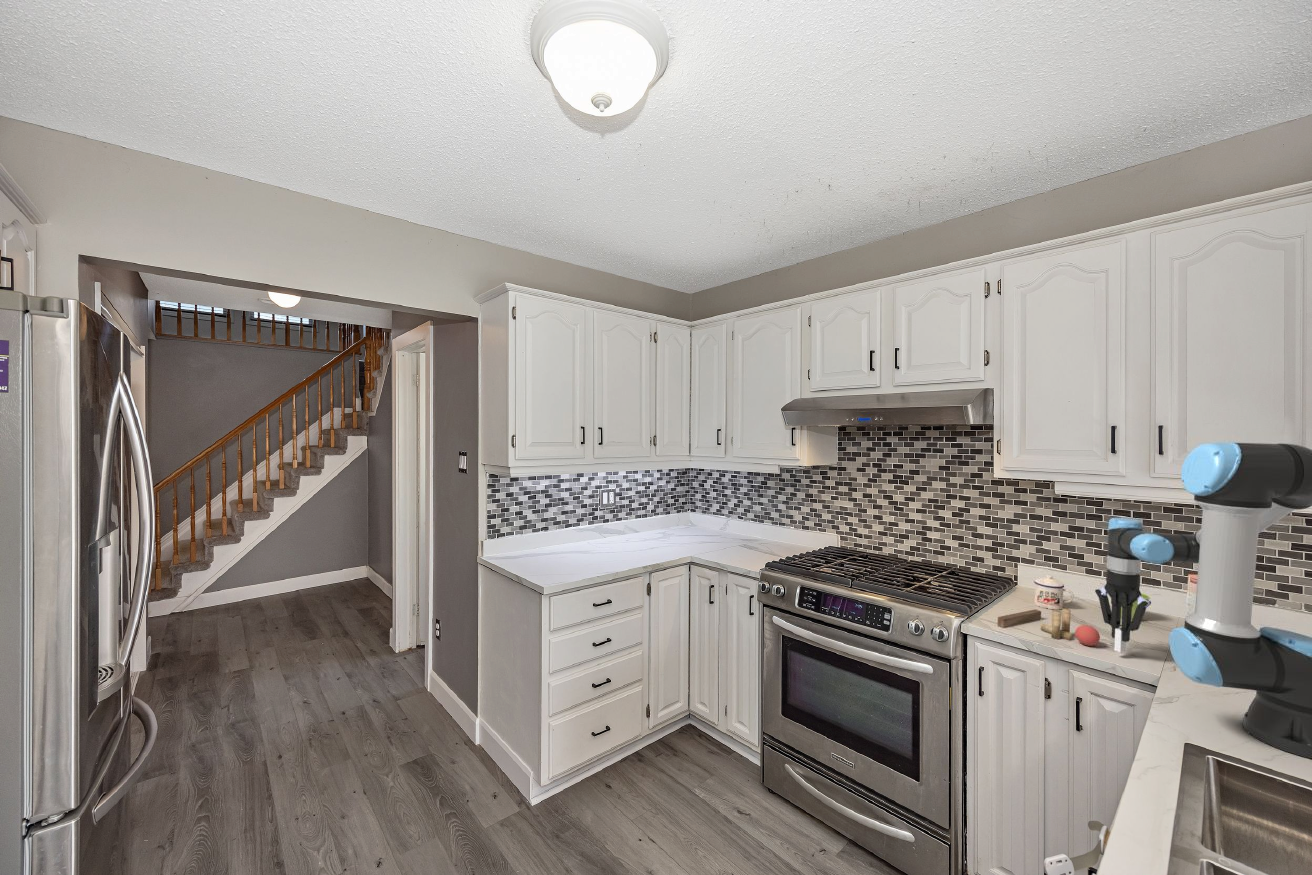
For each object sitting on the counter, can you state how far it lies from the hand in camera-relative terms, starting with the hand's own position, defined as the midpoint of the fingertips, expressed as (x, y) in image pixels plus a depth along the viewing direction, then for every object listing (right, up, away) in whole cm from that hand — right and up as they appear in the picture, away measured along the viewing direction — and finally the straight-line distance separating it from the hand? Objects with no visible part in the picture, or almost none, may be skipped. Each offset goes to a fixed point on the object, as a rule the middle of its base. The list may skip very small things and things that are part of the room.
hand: (1119, 650), depth 159 cm
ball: (-3, +1, +9) cm, 9 cm away
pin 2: (-4, -1, +16) cm, 16 cm away
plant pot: (+31, -2, +32) cm, 45 cm away
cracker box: (+40, -2, +12) cm, 42 cm away
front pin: (-5, -1, +12) cm, 13 cm away
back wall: (-12, -1, +27) cm, 29 cm away
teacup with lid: (+12, -1, +43) cm, 45 cm away
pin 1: (-9, -1, +14) cm, 16 cm away
